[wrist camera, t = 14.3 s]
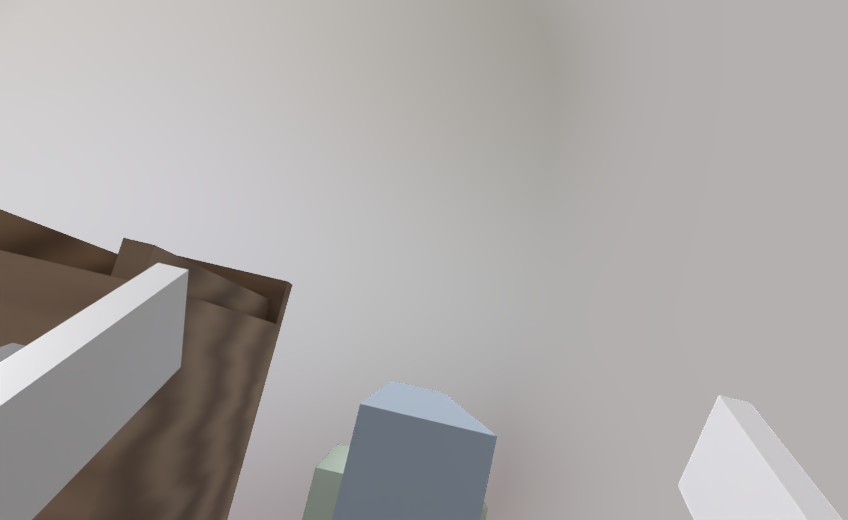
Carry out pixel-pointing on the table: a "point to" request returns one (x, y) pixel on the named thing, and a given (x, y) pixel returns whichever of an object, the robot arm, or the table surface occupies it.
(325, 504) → the upper block
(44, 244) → the stand
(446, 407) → the pale blue bar
